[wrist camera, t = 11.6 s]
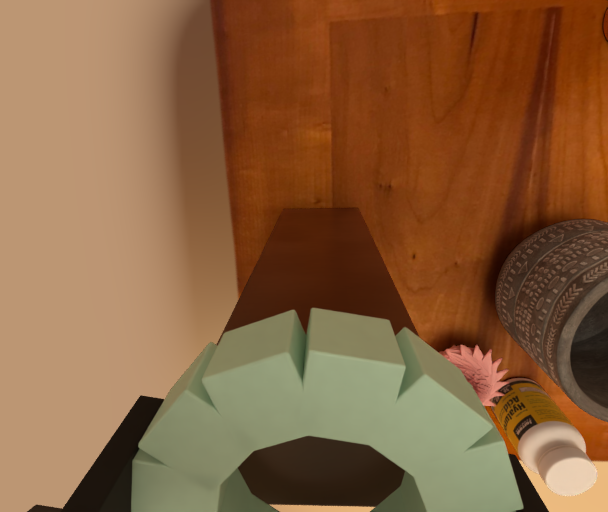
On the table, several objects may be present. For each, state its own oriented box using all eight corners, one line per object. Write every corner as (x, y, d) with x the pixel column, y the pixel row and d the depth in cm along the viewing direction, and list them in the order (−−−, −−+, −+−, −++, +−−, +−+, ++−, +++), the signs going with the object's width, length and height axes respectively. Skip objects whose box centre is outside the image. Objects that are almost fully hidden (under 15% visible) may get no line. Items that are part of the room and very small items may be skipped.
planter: (498, 349, 39) (578, 449, 27) (463, 240, 36) (535, 297, 24) (626, 307, 37) (775, 393, 25) (601, 188, 34) (757, 220, 22)
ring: (106, 465, 13) (62, 534, 11) (294, 239, 11) (287, 268, 8) (339, 608, 15) (342, 693, 13) (554, 442, 12) (606, 513, 10)
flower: (488, 394, 41) (513, 433, 35) (410, 394, 41) (423, 433, 36) (497, 325, 38) (526, 356, 33) (414, 325, 39) (429, 356, 33)
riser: (285, 278, 38) (231, 504, 15) (283, 208, 36) (214, 346, 13) (357, 278, 37) (412, 508, 15) (358, 207, 35) (425, 346, 13)
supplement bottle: (498, 371, 40) (552, 444, 30) (550, 381, 40) (620, 457, 31) (481, 414, 41) (527, 496, 32) (531, 424, 42) (591, 509, 32)
